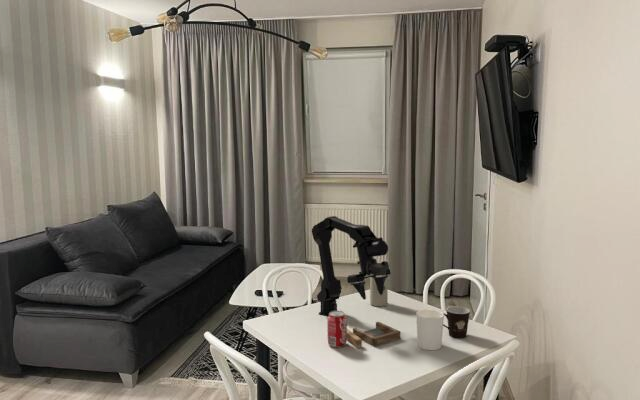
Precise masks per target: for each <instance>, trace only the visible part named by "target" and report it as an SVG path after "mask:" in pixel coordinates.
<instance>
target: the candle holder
mask: <svg viewBox="0 0 640 400" xmlns="http://www.w3.org/2000/svg"><path fill="white" fill-rule="evenodd" d="M444 314H445V313H444ZM444 314H443V312H441V311H438V310H435V309H420V310H417V311H416V312H415V318H416V334H417V335H416V336H417V338H416V339H417V346H418V347H419V348H420V349H423V350H425V351H438V350H440V349H441V348H442V343H443V341H442V340H443V330H444V326H443V324H444V317H445V315H444Z"/></svg>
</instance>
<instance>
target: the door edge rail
mask: <svg viewBox="0 0 640 400" xmlns="http://www.w3.org/2000/svg"><path fill="white" fill-rule="evenodd" d="M346 342H348V343H350V345H352V346H353V347H355V348H356V349H361V348H362V347H363V341H362V339H360V338H359V337H358V336H356V335H355V334H354V333H353V331H351V330H350V329H348V328H347V341H346Z"/></svg>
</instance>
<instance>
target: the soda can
mask: <svg viewBox="0 0 640 400" xmlns="http://www.w3.org/2000/svg"><path fill="white" fill-rule="evenodd" d="M345 314H346V313H345V311H342V310H337V311H331V312H330V313H329V316H327V321H326V322H327V324H326V325H327V343H328V345H329V346H330V347H332V348H343V347H344V346H345V345H347V342H348V341H347V329H348V325H347V323H348V322H347V317H346V315H345Z"/></svg>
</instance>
